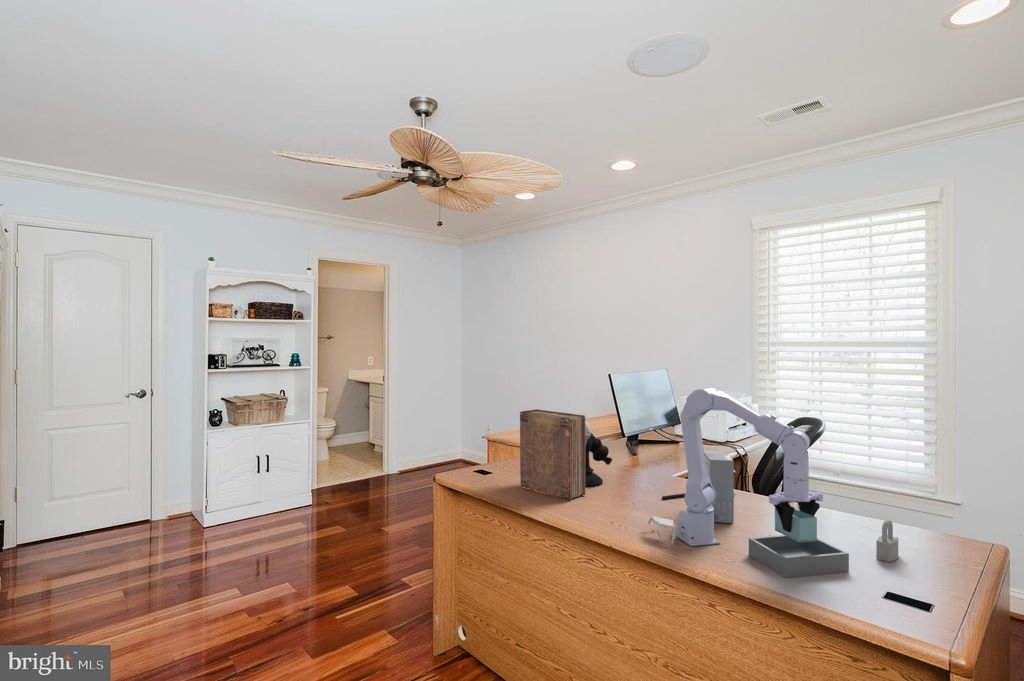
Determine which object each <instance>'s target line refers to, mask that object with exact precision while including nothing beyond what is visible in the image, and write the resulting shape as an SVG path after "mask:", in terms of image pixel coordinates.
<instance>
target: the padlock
mask: <svg viewBox="0 0 1024 681" xmlns="http://www.w3.org/2000/svg"><path fill="white" fill-rule="evenodd" d="M875 548H876V557H875V558H876V560H879V561H882V562H883V561H884V562H887V563H890V562H893V561H897V560H898V557H899V537H897V536H894V524H893V522H892V521H891V520H890V519H885V520H884V522H882V527H881V536H878V537H877V539H876V546H875Z"/></svg>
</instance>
